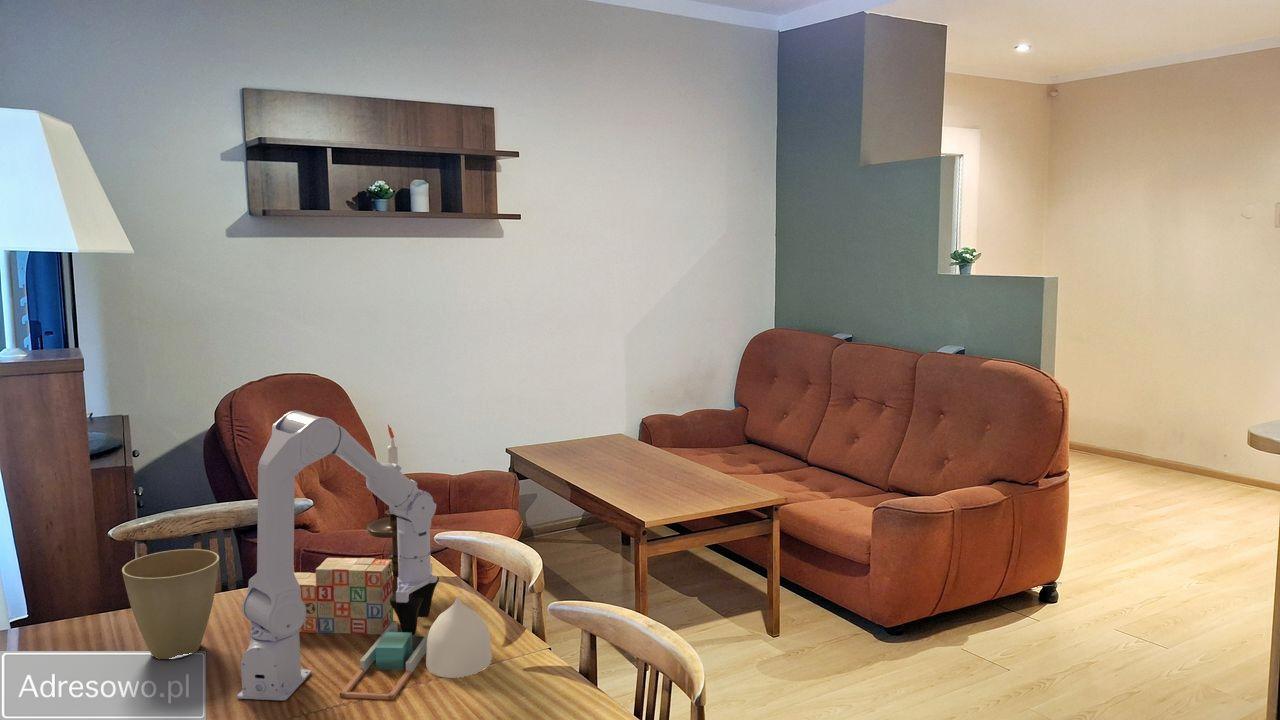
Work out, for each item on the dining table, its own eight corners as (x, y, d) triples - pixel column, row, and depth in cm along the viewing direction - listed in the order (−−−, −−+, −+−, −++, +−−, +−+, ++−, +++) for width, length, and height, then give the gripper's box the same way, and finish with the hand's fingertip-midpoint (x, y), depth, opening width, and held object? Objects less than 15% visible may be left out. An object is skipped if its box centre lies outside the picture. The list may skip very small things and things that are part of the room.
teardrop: (414, 660, 155) (412, 593, 153) (471, 642, 162) (470, 578, 160) (445, 685, 146) (444, 614, 145) (504, 665, 154) (503, 597, 152)
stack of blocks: (268, 632, 166) (265, 567, 164) (282, 618, 172) (279, 556, 170) (383, 635, 165) (381, 570, 163) (394, 620, 171) (392, 558, 170)
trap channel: (393, 699, 141) (392, 687, 141) (339, 697, 142) (339, 685, 142) (439, 633, 166) (439, 622, 165) (393, 631, 166) (393, 621, 166)
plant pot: (212, 665, 152) (207, 574, 150) (115, 674, 149) (108, 581, 147) (232, 629, 167) (227, 545, 165) (144, 636, 164) (138, 550, 162)
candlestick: (375, 607, 177) (370, 431, 173) (363, 588, 187) (357, 421, 182) (430, 597, 182) (426, 426, 178) (416, 579, 192) (411, 416, 187)
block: (403, 670, 151) (402, 647, 151) (376, 670, 152) (375, 647, 151) (412, 654, 157) (411, 632, 157) (386, 654, 158) (386, 632, 157)
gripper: (423, 568, 156) (425, 643, 158) (447, 541, 171) (448, 609, 172) (383, 567, 157) (385, 641, 159) (410, 539, 171) (412, 608, 173)
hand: (416, 625), depth 166 cm, fingers open, 7 cm apart
